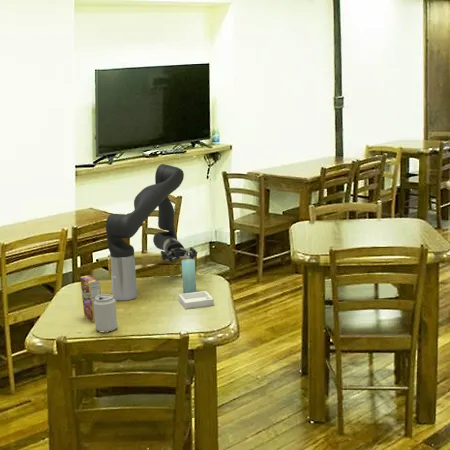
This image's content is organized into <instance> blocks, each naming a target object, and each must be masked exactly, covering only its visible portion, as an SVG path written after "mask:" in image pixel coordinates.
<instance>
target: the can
mask: <svg viewBox="0 0 450 450" xmlns="http://www.w3.org/2000/svg"><path fill="white" fill-rule="evenodd" d="M94 315H95V324H94V325H95V326H94V327H95V329H96V330H97V331H98V332H99V331H104V332H103V333H108V332H107V331H111V332H113V330H114V329H115V330H116V329H117V327H118V316H117V305H116V300H115V299H114V298H113V294H107V293H106V294H105V293H104V294H101V295H98V296H96V297H95V301H94ZM115 330H114V331H115Z"/></svg>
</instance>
